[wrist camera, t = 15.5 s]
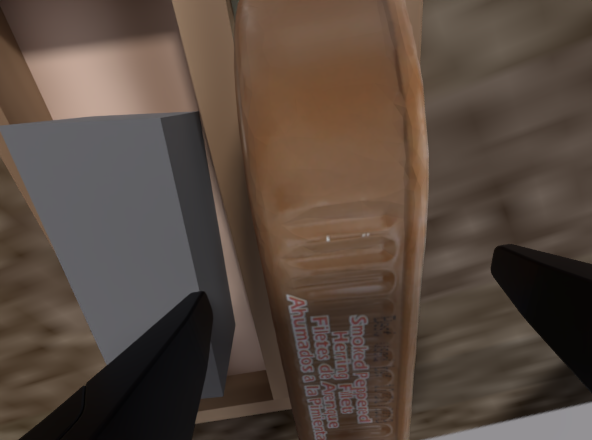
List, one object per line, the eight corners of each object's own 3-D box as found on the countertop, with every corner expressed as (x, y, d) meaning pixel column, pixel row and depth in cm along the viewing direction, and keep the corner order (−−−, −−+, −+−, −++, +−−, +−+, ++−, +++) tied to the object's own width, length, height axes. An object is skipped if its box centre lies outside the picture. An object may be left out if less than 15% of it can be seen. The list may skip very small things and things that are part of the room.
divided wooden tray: (392, -88, 9) (429, -148, 7) (387, 353, 18) (404, 391, 16) (-29, -30, 9) (-130, -74, 7) (171, 387, 18) (155, 430, 15)
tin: (351, 330, 16) (423, 544, 8) (298, 338, 16) (319, 561, 8) (334, 18, 10) (542, -260, 2) (246, 30, 10) (147, -209, 2)
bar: (235, 325, 15) (223, 396, 12) (161, 331, 15) (125, 405, 11) (198, 111, 11) (160, 118, 7) (92, 116, 11) (-3, 125, 7)
